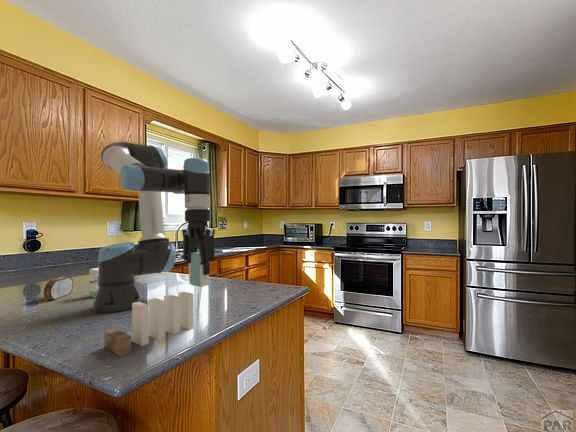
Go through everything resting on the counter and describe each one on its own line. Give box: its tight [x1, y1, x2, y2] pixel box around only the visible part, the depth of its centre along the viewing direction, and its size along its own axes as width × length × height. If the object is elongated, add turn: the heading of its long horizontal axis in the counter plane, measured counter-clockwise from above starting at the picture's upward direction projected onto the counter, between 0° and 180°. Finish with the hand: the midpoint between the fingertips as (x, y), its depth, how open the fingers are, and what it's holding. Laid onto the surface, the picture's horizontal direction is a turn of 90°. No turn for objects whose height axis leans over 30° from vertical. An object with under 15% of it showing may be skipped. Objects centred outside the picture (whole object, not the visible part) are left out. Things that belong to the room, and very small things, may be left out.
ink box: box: [88, 267, 99, 299], centre depth 129 cm, size 9×5×12 cm, turn 149°
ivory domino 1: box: [131, 301, 150, 347], centre depth 78 cm, size 2×5×10 cm, turn 52°
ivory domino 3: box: [163, 294, 181, 335], centre depth 85 cm, size 2×5×10 cm, turn 52°
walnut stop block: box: [104, 328, 132, 358], centre depth 73 cm, size 9×2×4 cm, turn 52°
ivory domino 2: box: [148, 297, 166, 341], centre depth 81 cm, size 2×5×10 cm, turn 52°
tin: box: [43, 275, 74, 301], centre depth 127 cm, size 15×3×8 cm, turn 5°
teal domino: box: [190, 251, 204, 288], centre depth 92 cm, size 2×5×10 cm, turn 52°
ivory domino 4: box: [177, 291, 195, 330], centre depth 89 cm, size 2×5×10 cm, turn 52°
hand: (199, 284), depth 92 cm, fingers closed on teal domino, 5 cm apart
